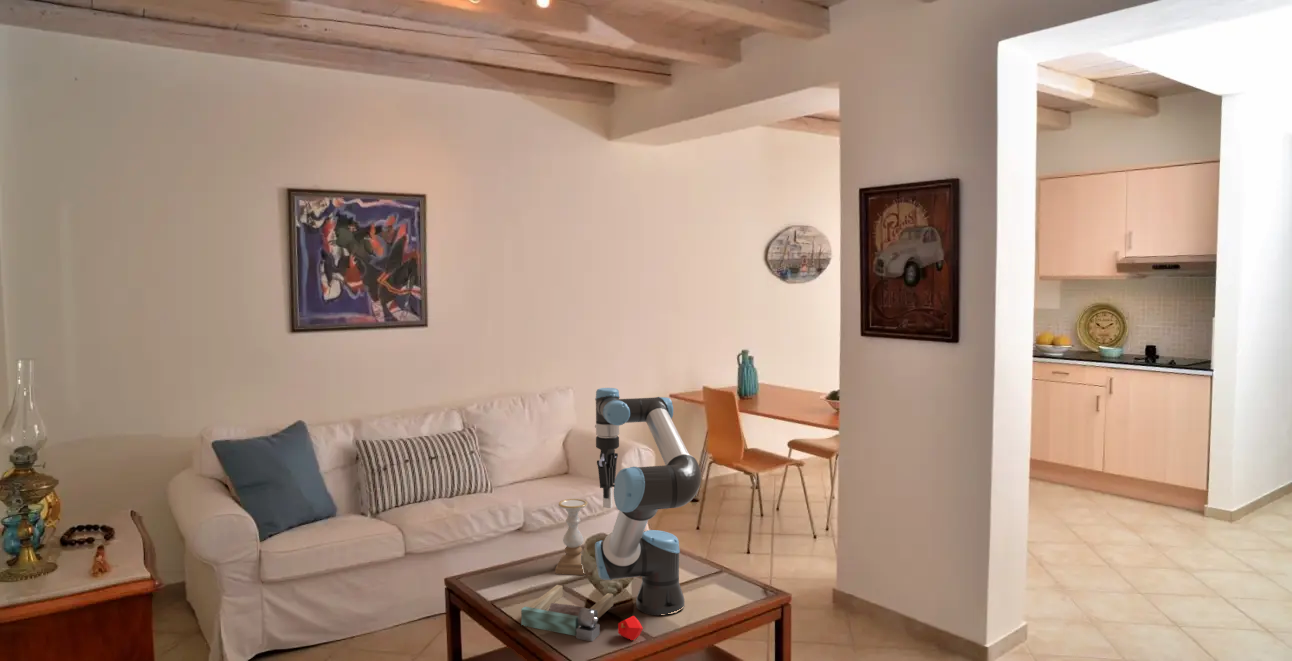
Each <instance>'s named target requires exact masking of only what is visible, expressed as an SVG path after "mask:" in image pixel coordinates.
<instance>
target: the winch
mask: <svg viewBox="0 0 1292 661" xmlns="http://www.w3.org/2000/svg"><path fill="white" fill-rule="evenodd" d="M598 621H599V618H598V612H597V610H593V609H590V608H586V607H585V608H582V609H581V610H580V612H579V615H578V624H579V626H578V627H577V628H576V636H575V637H576V639H577V640H582V641H587V642H593V641H594V640H595V639H596V638H597V637H598V636H600V634H601V633H600V632H601V630H600V629H601V628H600V626H601V625H600V624H599V623H598Z"/></svg>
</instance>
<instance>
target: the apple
mask: <svg viewBox="0 0 1292 661" xmlns="http://www.w3.org/2000/svg"><path fill="white" fill-rule="evenodd" d="M617 626H618V628H617V633H618V634H619V635H620V636H621V637H623V638H624V639H628V640H629V639H630V640H629V641H632V640H634V639H635V640H636V638H637V637H638V636H639V637H640V635H641V634H642V631H643V629H644V628H643V626H642V624H641V622H640V620H638V618H637V617H636V616H635V615H632V616H630V617H628V618H626V619H623V620H621V621H620V622H618V623H617ZM639 637H638V638H639ZM638 638H637V639H638ZM635 640H634V641H635Z"/></svg>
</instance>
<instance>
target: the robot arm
mask: <svg viewBox="0 0 1292 661" xmlns="http://www.w3.org/2000/svg"><path fill="white" fill-rule="evenodd" d="M594 400H595V425H594V428H595V434H596V437H595V446H596V449H598V450H600V452H599V453H600V454H599V460H596V466H597V470H598V480H599V488H600V489H602V508H603V509H604V508H605V509H612V508H613V499H614V505H615V507H616V509H617V510H618V514H617V517H616V519H615V523H614V525H613V529H612V532H610V533H609V534H608V535H606V537H605V538H604V539H603V540H599V541H596V542H595V544H594V552H595V563H596V569H597V573H598V574H597V575H598V577H599V579H601V580H603V581H612V580H621V579H630V578H638V577H639V578H640V577H641V584H640V587H639V589H638V593H637V596H636V601H635V602H636V603H635V604H636V608H637V610H638V611H639V612H642V613H644V614H647V615H651V616H659V615H661V614H668V613H671V612H674V611H677V610H679V609H681V608H682V607H683V606H684V607H685V597H684V594H683V591H682V587H681V585H680V553H681V551H680V541H679V538H678V537H677V536H676V535H674V534H673V533H671V532H667V531H664V530H657V529H656V530H655V529H654V530H653V529H648V530H646V526H647V524H648V521H649V520H651V519H652V518H654V517H655V516H656V514H657V513H658V511H659V510H665V509H668V510H669V509H677V508H681V507H684V506H686V505H687V504H688V503H690V502H691V501H692V500H693V499H694V498H695V497H696V495H697V493H698V492H699V490H700V487H701V483H702V471H701V468H700V465H699V462H698V461H697V459H696V458H695V457H694V456H693V455H691V454H690V453H689V451H688V450H687V447H686V445H685V443H684V441H683V440H682V436H681V435H680V432H679V431H678V429H677V427H676V425H675V423H674V422H673V420H672V419H673V416H674V405H673V401H672V400H671V398H670V397H663V396H662V397H660V396H657V397H641V398H639V397H638V398H637V397H635V398H620V391H619V389H618V388H615V387H600V388H598V389H596V390H595V398H594ZM627 423H628V424H629V423H646V424H647V427H648V429H649V431H650V433H651V435H652V438H653V441H654V442H655V445H656V447H657V449H658V451H659V454H660V456H661V458H662V460H663V462H664V465H653V466H650V465H649V466H630V467H626V468H622V469H621V470H619V471H618V472H617V462H618V457H619V454H618V453H616V452H615V451H616V449H618V448H619V447H620V437H619V435H620V426H623V425H625V424H627ZM616 472H617V474H616Z"/></svg>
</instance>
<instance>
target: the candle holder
mask: <svg viewBox="0 0 1292 661" xmlns="http://www.w3.org/2000/svg"><path fill="white" fill-rule="evenodd" d="M587 506H588V501H587V500H585V499H582V498H567V499H562V500H560V501H559V502H558V507H559V508H561V509H564V510H565V512H567V518H566V519H565V523H566V524H567V526H568V527H567V530H566V532H565V533H564V535H563V538H562V543H563V544H564V545H565V546H566V547H564V553H565V554H563V555H562V556H561V557H560V559H559V561H558V563H557V564H556V566H555V569H554V570H555V571H554V573H555V575H566V576H567V575H570V576H571V575H573V576H585V575H584V573H583V569H582V565H581V555H583V554H582V551H583V548H582V545H583V543H584V540H585V539H584V536H583V534H582V532H581V531H580V529H579V524H580V523H581V518H580V516H579V513H580V511H581V510H582V509H585V508H586V507H587Z"/></svg>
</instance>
